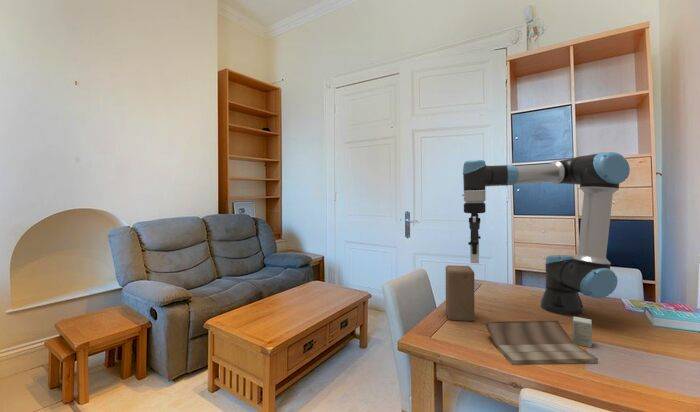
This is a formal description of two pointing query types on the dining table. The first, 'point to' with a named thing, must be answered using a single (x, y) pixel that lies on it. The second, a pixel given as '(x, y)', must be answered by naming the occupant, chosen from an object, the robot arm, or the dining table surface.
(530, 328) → the plank
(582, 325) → the small box
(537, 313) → the dining table surface
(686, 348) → the dining table surface
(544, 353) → the laid board
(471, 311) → the wooden block
